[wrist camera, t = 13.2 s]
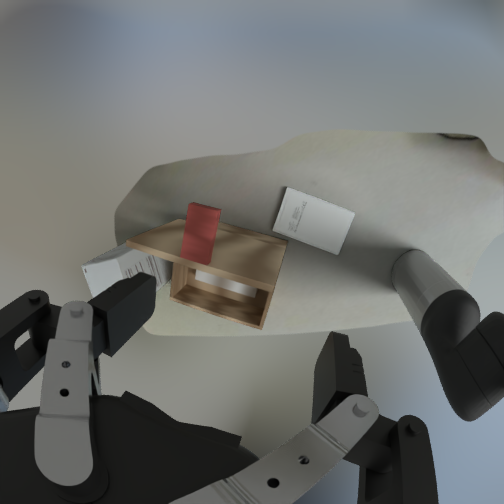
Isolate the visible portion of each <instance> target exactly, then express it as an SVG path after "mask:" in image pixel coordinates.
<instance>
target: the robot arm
mask: <svg viewBox="0 0 504 504" xmlns="http://www.w3.org/2000/svg"><path fill="white" fill-rule="evenodd" d="M391 277H392V283H393V285H394V287H395V289H396V290H397V292H398V294H399V296H400V298H401V299H402V301H403V303H404V305H405V306H406V308H407V310H408V312H409V314H410V315H411V317H412V319H413V321H414V323H415V325H416V326H417V328H418V330H419V332H420V334H421V336H422V337H423V340H424V341H425V344H426V346H427V348H428V350H429V352H430V355H431V357H432V359H433V362H434V365H435V367H436V370H437V373H438V376H439V378H440V382H441V384H442V387H443V390H444V392H445V395H446V397H447V399H448V401H449V403H450V405H451V407H452V408H453V410H454V411H455V413H456V414H457V415H458V416H459V417H460V418H461V419H463V420H465V421H474V420H476V419H477V418H479V417H480V416H482V415H483V414H484V413H485V412H487V411H488V410H489V409H490V408H492V406H494V405H495V404H496V403H497V402H499V401H500V400H501V399H502V398H503V397H504V314H502V313H500V312H492V313H490V314H489V315H488V316H487V317H485V318H484V319H483V320H482V321H481V322H480V310H479V306H478V304H477V302H476V301H475V299H474V298H473V297H472V296H471V295H470V294H469V293H467V291H466V290H465V289H464V288H463V287H462V286H461V285H460V284H459V283H457V282H456V281H455V280H454V279H453V278H452V277H451V276H450V275H449V274H448V273H447V272H446V271H445V270H444V269H443V268H442V267H441V266H440V265H439V264H438V263H437V262H436V261H434V260H433V259H432V258H431V257H430V256H429V255H428V254H426V253H425V252H423V251H420V250H411V251H409V252H406V253H405V254H403V255H402V256H401V257H400V258H399V259H398V260H397V261H396V263H395V265H394V267H393V270H392V276H391ZM156 284H157V280H156V277H155V276H152V275H150V274H147V273H144V272H139V273H137V274H136V275H134V276H133V277H131V278H126V279H122V280H119V281H117V282H116V283H114V284H113V285H112V286H110V287H108V288H107V289H106V290H104V291H103V292H101V293H100V294H98V295H97V296H95V297H94V298H93V299H91V300H90V301H88V302H87V303H86V302H84V301H71V302H68V303H66V304H65V305H64V306H63V307H60V306H56V305H52V304H50V302H49V296H48V294H47V293H46V292H44V291H41V290H32V291H29V292H26V293H25V294H23V295H22V296H20V297H19V298H17V299H16V300H14V301H13V302H11V303H10V304H8V305H7V306H5V307H4V308H2V309H1V310H0V504H292V503H293V502H295V501H296V500H297V499H298V498H300V497H301V496H302V495H303V494H305V493H306V492H307V491H308V490H309V489H310V488H311V487H313V486H314V485H315V484H316V483H317V482H318V481H319V480H321V479H322V478H323V477H324V476H325V475H326V474H327V473H328V472H329V471H330V470H331V469H332V468H333V467H334V466H335V465H336V464H337V463H338V462H339V461H340V460H341V459H344V460H347V461H349V462H351V463H354V464H357V465H359V466H360V471H359V488H358V501H357V504H439V503H438V492H437V483H436V475H435V468H434V461H433V455H432V450H431V444H430V439H429V434H428V429H427V427H426V425H425V423H424V422H423V421H422V420H421V419H419V418H418V417H416V416H413V415H405V416H403V417H401V418H400V419H399V421H398V422H396V421H393V420H391V419H389V418H386V417H384V416H382V415H380V414H379V409H378V407H377V405H376V404H375V402H374V401H372V400H371V399H370V398H368V394H367V387H366V381H365V375H364V369H363V364H362V358H361V356H360V354H359V353H358V352H357V350H356V349H354V348H350V345H349V338H348V335H345V334H341V333H336V332H333V331H331V332H330V334H329V336H328V338H327V340H326V342H325V344H324V346H323V349H322V351H321V353H320V355H319V357H318V359H317V362H316V366H315V371H314V391H313V407H312V422H311V424H310V425H309V426H307V427H306V428H305V429H304V430H302V431H301V432H299V433H298V434H297V435H295V436H294V437H292V438H291V439H290V440H288V441H287V442H285V443H284V444H283V445H281V446H280V447H279V448H277V449H275V450H274V451H272V452H271V453H269V454H268V455H266V456H265V457H263V458H261V459H259V458H258V457H257V456H256V455H255V454H253V453H252V452H251V451H249V450H248V449H246V448H245V447H243V446H241V445H239V444H240V441H241V438H242V437H241V436H238V435H235V434H231V433H228V432H225V431H222V430H218V429H216V428H213V427H207V426H200V425H194V424H188V423H182V422H178V421H176V420H174V419H173V418H171V417H170V416H169V415H167V414H166V413H164V412H163V411H161V410H160V409H159V408H157V407H156V406H155V405H153V404H152V403H150V402H148V401H146V400H144V399H142V398H140V397H138V396H136V395H134V394H132V393H130V392H128V391H125V392H124V394H123V395H122V396H121V397H118V396H112V395H102V393H101V381H100V360H99V355H100V354H101V353H102V352H103V353H104V354H106V355H108V356H110V357H112V356H113V355H114V354H115V353H116V352H117V351H118V350H119V349H120V348H121V347H122V346H123V345H124V344H125V343H126V342H127V341H128V340H129V339H130V338H131V336H133V335H134V334H135V333H136V331H138V330H139V329H140V327H141V326H142V325H143V324H144V323H145V322H146V321H147V320H148V319H149V318H150V317H151V316H152V314H153V312H154V309H155V299H156ZM27 330H28V331H29V335H30V339H28V340H27V341H26V342H25V343H24V344H22V345H21V346H20V347H19V348H18V349H17V350H15V348H14V345H15V341H16V340H17V338H18V337H20V336H21V335H22V334H23V333H24V332H26V331H27ZM43 367H44V374H43V381H42V390H41V401H40V407H33V408H27V409H20V410H13V411H7V409H8V407H9V402H10V401H11V400H12V399H13V398H14V397H15V396H16V395H17V394H18V392H19V391H20V390H21V389H22V388H23V387H24V386H25V385H26V384H27V383H28V382H29V381H30V380H31V379H32V378H33V377H34V376H35V375H36V374H37V373H38V372H39V371H40V370H41V369H42V368H43Z"/></svg>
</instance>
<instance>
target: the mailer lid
mask: <svg viewBox="0 0 504 504" xmlns="http://www.w3.org/2000/svg"><path fill="white" fill-rule="evenodd" d="M220 213H221V209H218V208H214V207H210V206H206V205H202V204H198V203H194V202H193V203H190V204H189V206H188V212H187V217H186V220H182V219H177V220H175V221H172V222H169V223H167V224H164V225H162V226H159V227H157V228H154V229H152V230H149V231H147V232H144V233H142V234H139V235H137V236H134V237H132V238H130V239H127V240H126V246H127V247H130V248H133V249H136V250H139V251H142V252H144V253H147V254H150V255H153V256H156V257H159V258H162V259H165V260H169V261H172V262H175V263H178V264H181V265H184V266H187V267H190V268H193V269H196V270H200V271H203V272H206V273H209V274H212V275H215V276H219V277H222V278H225V279H228V280H232V281H235V282H238V283H242V284H245V285H248V286H252V287H255V288H258V289H262V290H265V291H269V292H273V289H274V286H275V282H276V279H277V276H278V273H279V269H280V266H281V263H282V259H283V256H284V253H285V249H286V248H283V247H279V246H276V245H272V244H269V243H265V242H262V241H258V240H255V239H251V238H247V237H244V236H240V235H237V234H233V233H229V232H226V231H222V230H219V229H217V227H218V222H219V218H220Z"/></svg>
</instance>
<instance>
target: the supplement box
mask: <svg viewBox="0 0 504 504" xmlns="http://www.w3.org/2000/svg"><path fill="white" fill-rule="evenodd" d="M173 263H174V262H172V261H169V260H165V259H162V258H159V257H156V256H153V255H150V254H147V253H144V252H142V251H139V250H136V249H133V248H130V247H127V246H126V243H124V244H122V245H120V246H118V247H116V248H114V249H112V250H110V251H108V252H106V253H104V254H102V255H100V256H98V257H96V258H94V259H92V260H90V261H88V262H87V263H85V264H83V265H82V269H83V272H84V274H85V277H86V280H87V283H88V285H89V288H90V291H91V294H92V296H93V298H94V297H95V296H97V295H98V294H100V293H101V292H103V291H104V290H106V289H107V288H108V287H110V286H112V285H113V284H114V283H116V282H117V281H119V280H122V279H126V278H131V277H133V276H134V275H136V274H137V273H139V272H144V273H147V274H150V275H152V276H155V277H156V280H157V284H156V292H157V291H158V290H159V289H160V288H161V287H162V286H163V285H165V284H166V283H167V282H168V281H169V280H170V279H171V278H172V272H173Z"/></svg>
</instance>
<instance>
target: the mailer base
mask: <svg viewBox="0 0 504 504" xmlns="http://www.w3.org/2000/svg"><path fill="white" fill-rule="evenodd" d="M217 229H219V230H222V231H226V232H229V233H233V234H237V235H240V236H244V237H247V238H251V239H255V240H258V241H262V242H265V243H269V244H272V245H276V246H279V247H283V248H286V246H287V243H288V241H287V240H283V239H279V238H276V237H272V236H269V235H265V234H262V233H258V232H254V231H251V230H247V229H243V228H240V227H236V226H232V225H229V224H225V223H221V222H218V227H217ZM285 250H286V249H285ZM284 254H285V253H284ZM283 257H284V256H283ZM282 261H283V259H282ZM281 264H282V263H281ZM280 268H281V266H280ZM279 271H280V269H279ZM278 275H279V273H278ZM277 278H278V276H277ZM276 281H277V279H276ZM275 285H276V282H275ZM274 288H275V286H274ZM273 292H274V289H273ZM273 292H269V291H265V290H262V289H258V288H255V287H252V286H248V285H245V284H242V283H238V282H235V281H232V280H228V279H225V278H222V277H219V276H215V275H212V274H209V273H206V272H203V271H200V270H196V269H193V268H190V267H187V266H184V265H181V264H178V263H175V262H174V263H173V272H172V281H171V291H170V300H173V301H175V302H178V303H181V304H184V305H187V306H189V307H192V308H195V309H198V310H201V311H204V312H207V313H210V314H213V315H216V316H219V317H222V318H225V319H228V320H231V321H234V322H237V323H241V324H244V325H247V326H250V327H254V328H257V329H260V330H262V328H263V325H264V321H265V318H266V315H267V312H268V308H269V305H270V302H271V298H272V295H273Z"/></svg>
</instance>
